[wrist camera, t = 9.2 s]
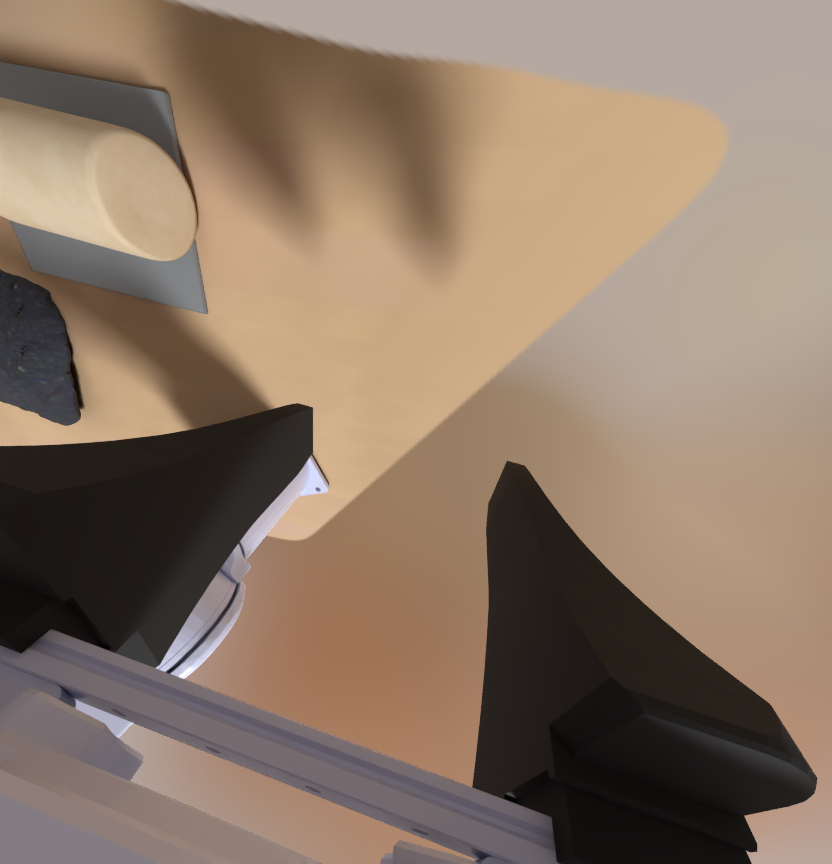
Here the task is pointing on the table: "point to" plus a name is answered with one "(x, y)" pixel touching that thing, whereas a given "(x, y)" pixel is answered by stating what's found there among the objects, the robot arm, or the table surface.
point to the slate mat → (87, 260)
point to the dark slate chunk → (35, 352)
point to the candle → (93, 183)
